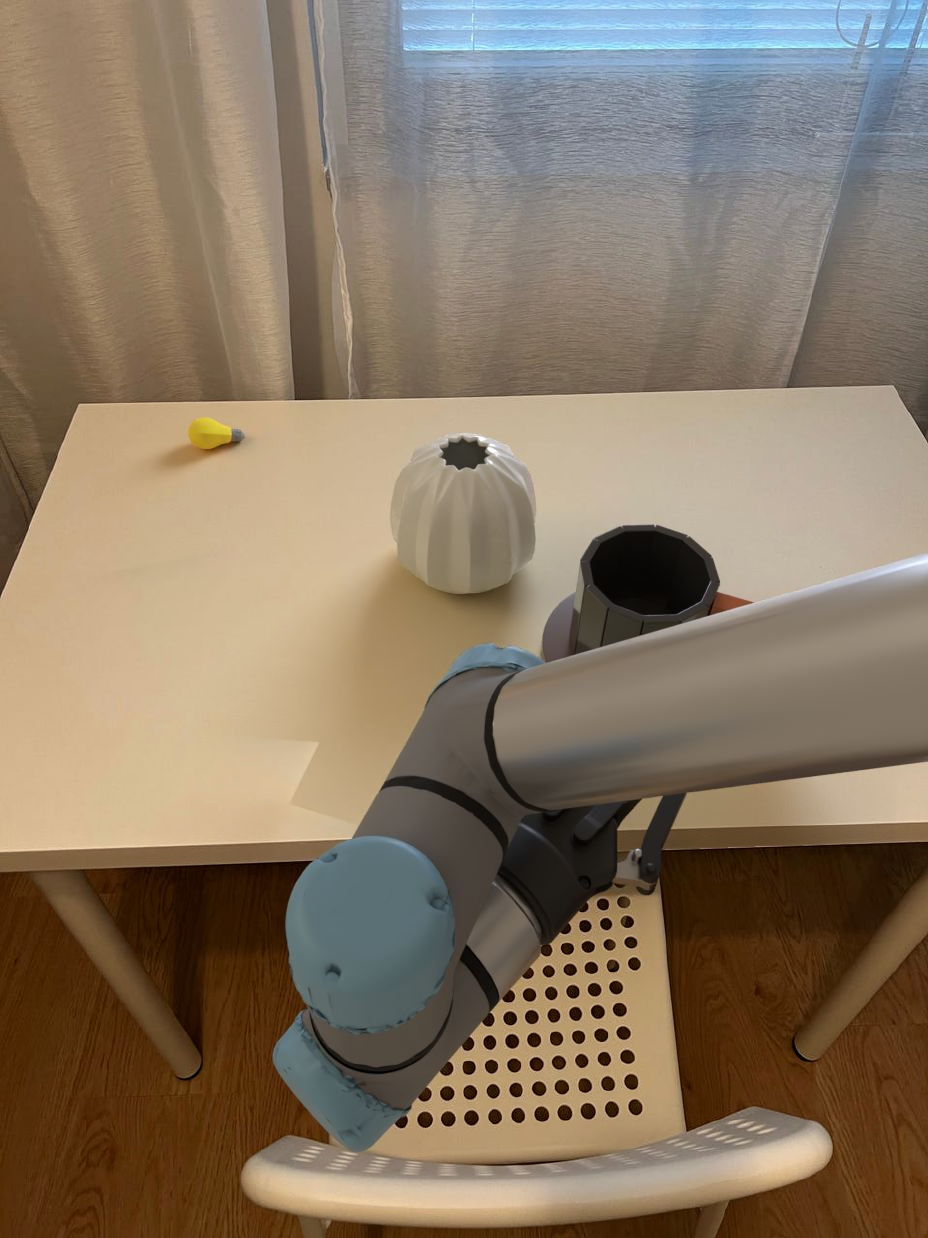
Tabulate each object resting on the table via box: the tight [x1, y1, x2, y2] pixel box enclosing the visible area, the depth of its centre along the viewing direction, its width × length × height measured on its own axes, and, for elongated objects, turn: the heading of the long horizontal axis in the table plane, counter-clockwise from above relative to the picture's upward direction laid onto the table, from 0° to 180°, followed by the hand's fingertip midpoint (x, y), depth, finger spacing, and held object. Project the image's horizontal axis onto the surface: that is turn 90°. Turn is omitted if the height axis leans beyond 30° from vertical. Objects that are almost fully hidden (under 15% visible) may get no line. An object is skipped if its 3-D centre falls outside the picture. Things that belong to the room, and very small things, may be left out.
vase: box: [389, 432, 537, 595], centre depth 87 cm, size 14×14×13 cm
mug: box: [569, 523, 755, 655], centre depth 79 cm, size 12×15×10 cm
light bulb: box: [187, 416, 246, 450], centre depth 103 cm, size 3×6×4 cm, turn 106°
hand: (710, 678), depth 69 cm, fingers closed
